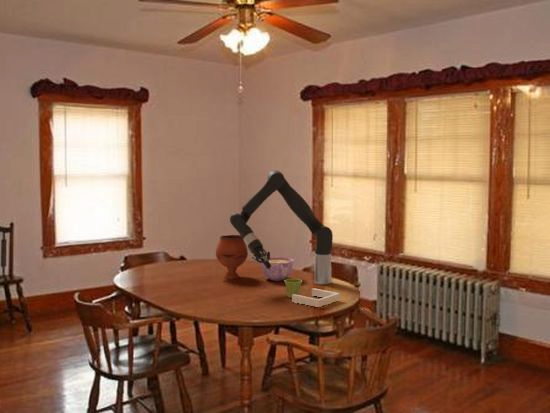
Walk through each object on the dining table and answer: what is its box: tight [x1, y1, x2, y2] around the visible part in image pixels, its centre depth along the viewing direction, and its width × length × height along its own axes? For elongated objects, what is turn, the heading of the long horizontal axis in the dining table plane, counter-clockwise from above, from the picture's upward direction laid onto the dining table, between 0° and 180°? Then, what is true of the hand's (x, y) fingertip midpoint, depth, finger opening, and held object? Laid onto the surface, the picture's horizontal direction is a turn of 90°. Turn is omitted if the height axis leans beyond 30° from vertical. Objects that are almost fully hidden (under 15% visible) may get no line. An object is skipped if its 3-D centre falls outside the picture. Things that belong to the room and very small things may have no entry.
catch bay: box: [291, 287, 340, 308], centre depth 285 cm, size 18×16×4 cm
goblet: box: [215, 234, 249, 280], centre depth 339 cm, size 19×19×25 cm
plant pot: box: [283, 278, 303, 299], centre depth 294 cm, size 9×9×9 cm
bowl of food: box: [260, 256, 295, 282], centre depth 335 cm, size 20×20×12 cm
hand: (269, 267), depth 304 cm, fingers closed
